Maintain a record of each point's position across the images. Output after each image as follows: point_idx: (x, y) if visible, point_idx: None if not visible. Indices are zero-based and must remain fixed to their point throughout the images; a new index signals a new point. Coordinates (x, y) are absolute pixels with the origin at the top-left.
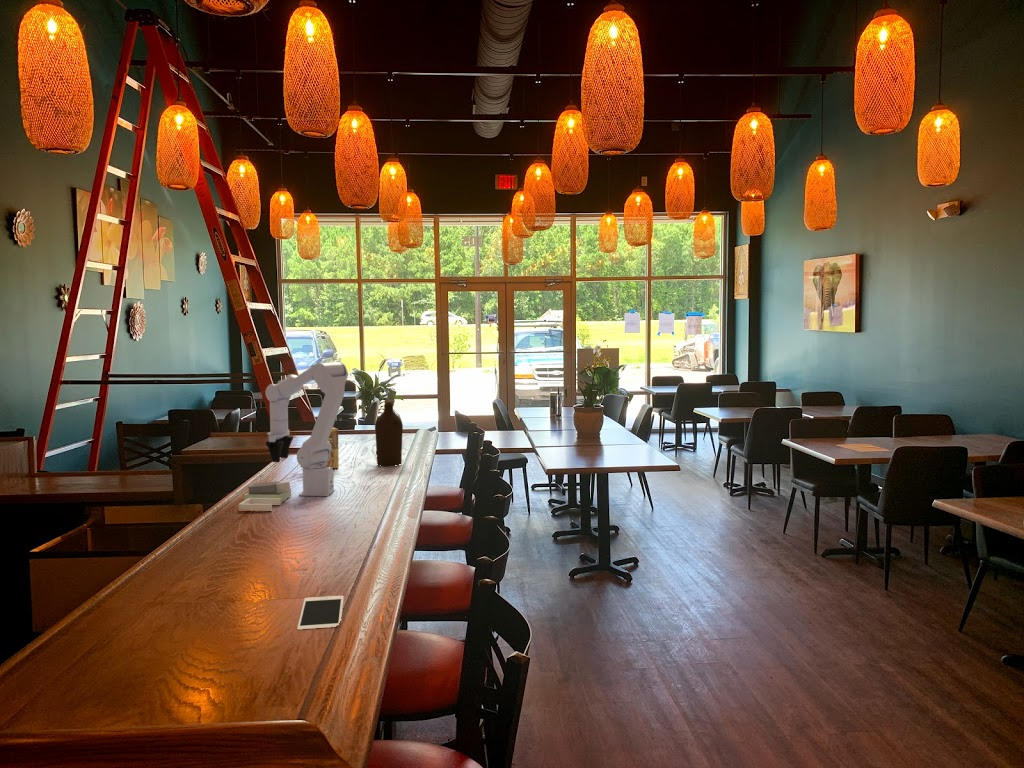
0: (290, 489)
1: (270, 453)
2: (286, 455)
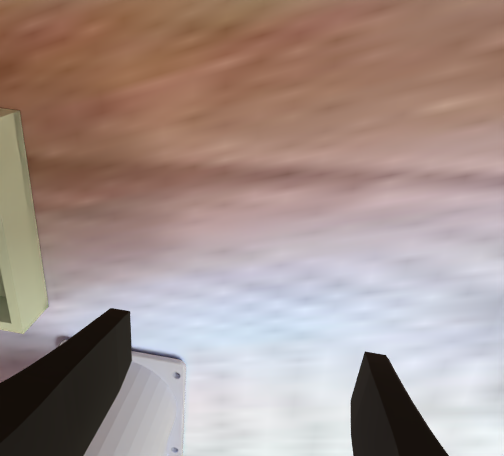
0: (17, 331)
1: (31, 366)
2: (352, 424)
